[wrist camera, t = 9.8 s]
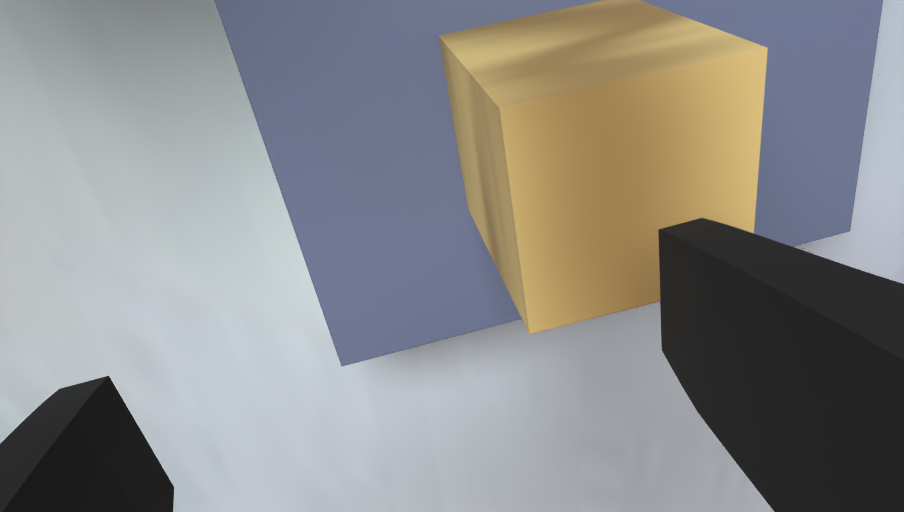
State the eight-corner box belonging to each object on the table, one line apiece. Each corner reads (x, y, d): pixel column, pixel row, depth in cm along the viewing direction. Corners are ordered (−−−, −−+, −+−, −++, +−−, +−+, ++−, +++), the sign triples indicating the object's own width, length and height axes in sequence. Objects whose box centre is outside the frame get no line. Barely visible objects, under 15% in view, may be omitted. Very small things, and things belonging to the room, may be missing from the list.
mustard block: (625, -5, 14) (767, 47, 10) (631, 170, 16) (750, 278, 12) (438, 35, 14) (499, 108, 9) (468, 209, 16) (529, 334, 11)
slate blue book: (818, -252, 15) (922, -278, 13) (782, 186, 21) (849, 231, 18) (197, -121, 14) (173, -119, 12) (336, 302, 20) (341, 366, 17)
